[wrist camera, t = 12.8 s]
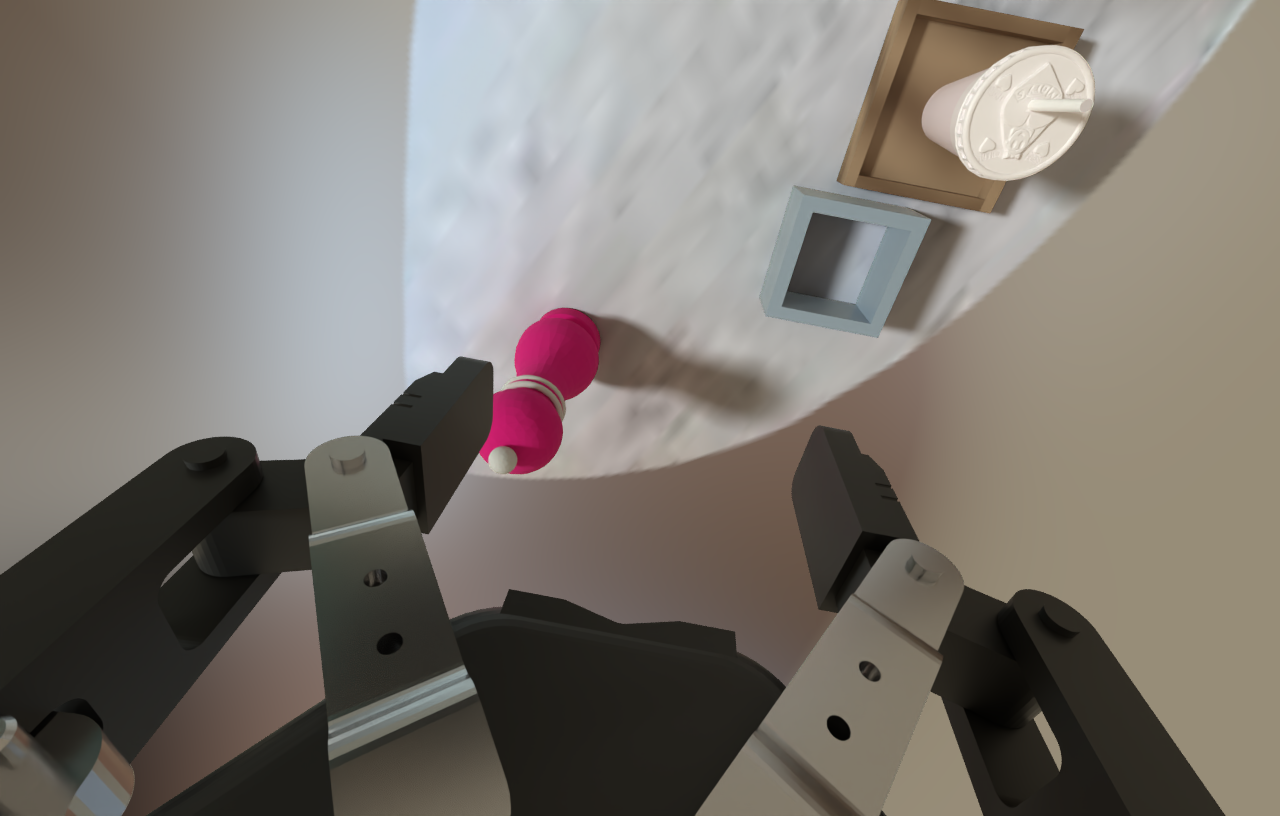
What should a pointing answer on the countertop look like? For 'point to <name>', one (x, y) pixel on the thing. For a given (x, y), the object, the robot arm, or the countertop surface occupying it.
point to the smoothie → (1014, 112)
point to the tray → (906, 79)
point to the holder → (882, 276)
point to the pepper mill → (541, 391)
